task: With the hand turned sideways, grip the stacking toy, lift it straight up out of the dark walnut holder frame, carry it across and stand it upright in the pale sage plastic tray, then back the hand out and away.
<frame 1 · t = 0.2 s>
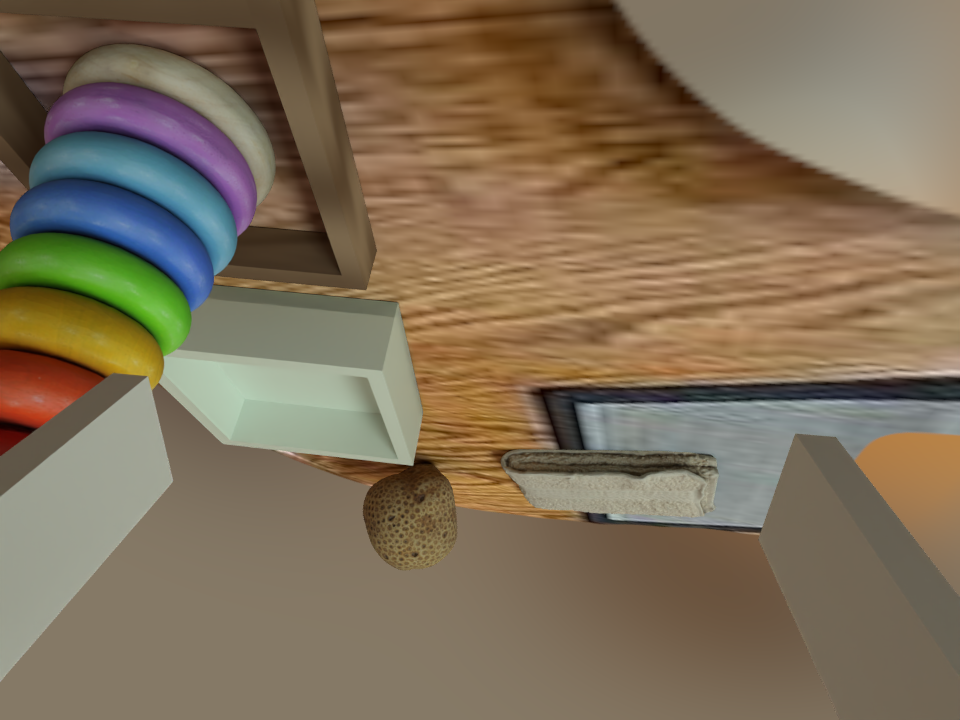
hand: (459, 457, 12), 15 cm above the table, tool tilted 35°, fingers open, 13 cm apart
sage tray: (306, 355, 41), on the table
washcloth: (611, 467, 55), on the table
stacking toy: (186, 122, 25), resting in walnut holder
walnut holder: (184, 125, 25), on the table
natural sponge: (420, 461, 58), on the table
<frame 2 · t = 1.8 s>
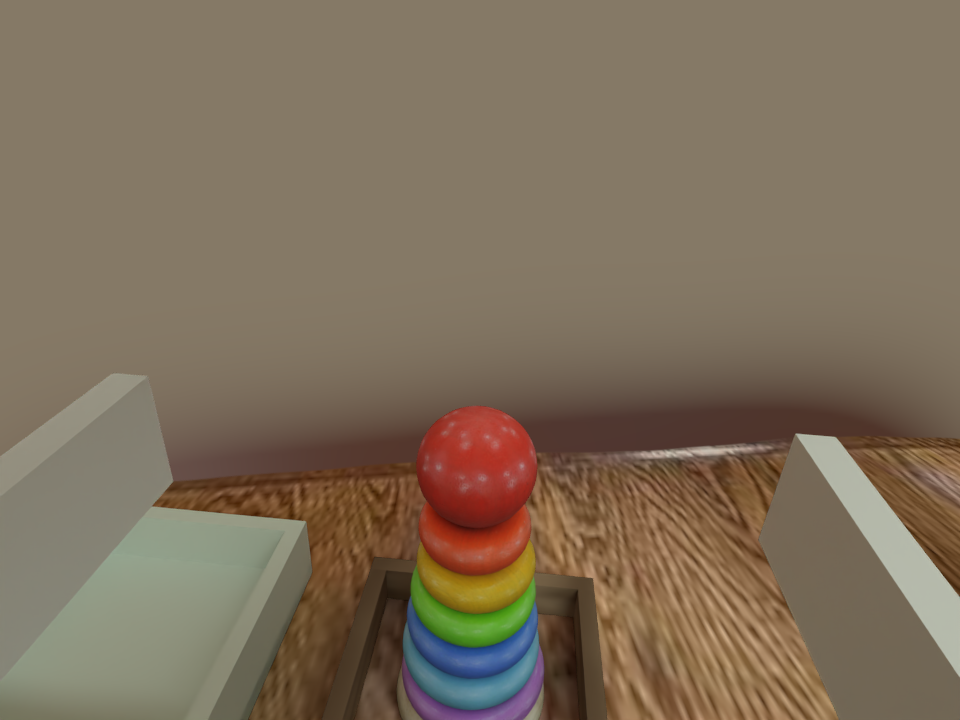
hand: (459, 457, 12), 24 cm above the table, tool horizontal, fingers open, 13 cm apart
sage tray: (139, 660, 34), on the table
stacking toy: (469, 699, 33), resting in walnut holder
walnut holder: (469, 697, 33), on the table
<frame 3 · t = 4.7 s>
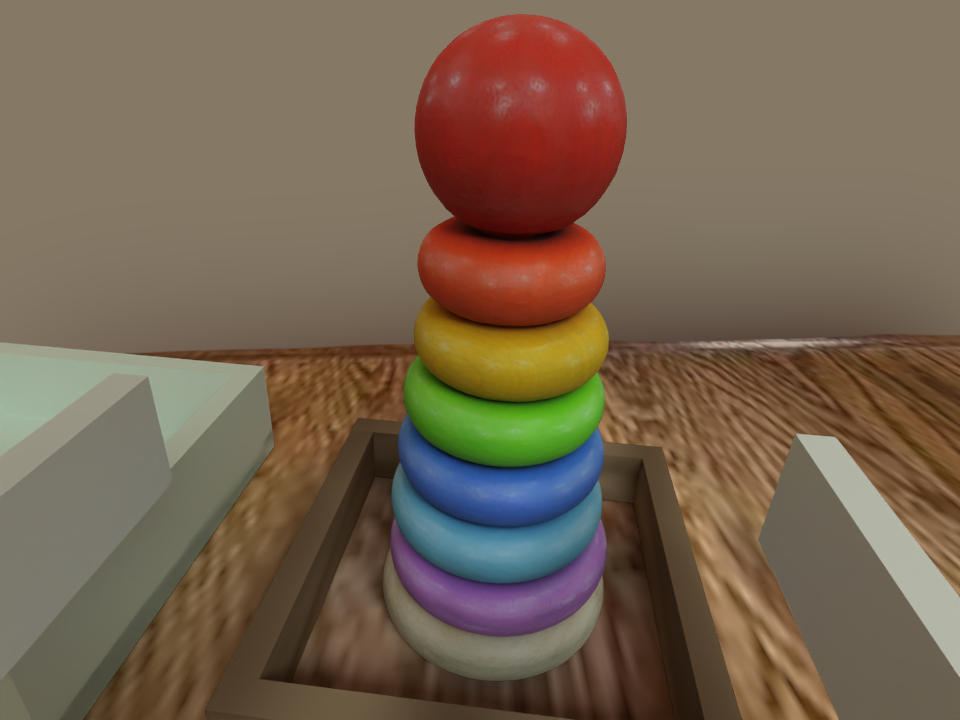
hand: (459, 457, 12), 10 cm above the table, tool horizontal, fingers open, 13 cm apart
sage tray: (13, 537, 23), on the table
stacking toy: (491, 597, 22), resting in walnut holder
walnut holder: (491, 592, 22), on the table
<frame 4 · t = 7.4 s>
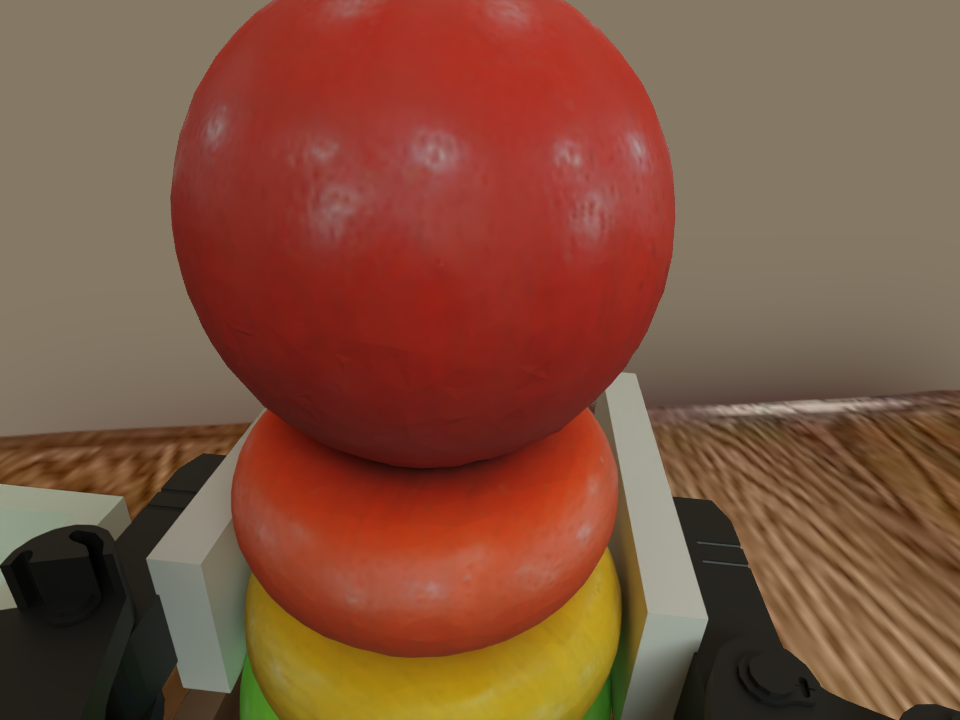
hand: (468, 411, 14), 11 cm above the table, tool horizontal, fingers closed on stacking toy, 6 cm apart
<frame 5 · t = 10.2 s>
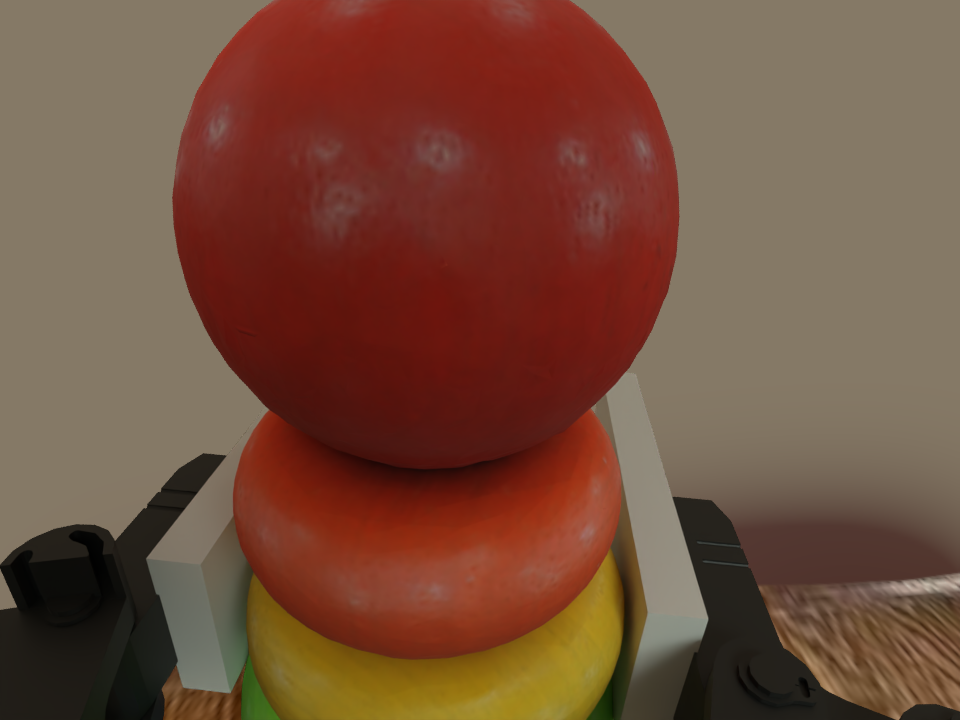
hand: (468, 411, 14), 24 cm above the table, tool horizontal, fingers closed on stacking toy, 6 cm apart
when the fingers open (13 cm above the table, at t = 13.2 s): stacking toy drops 1 cm, resting on sage tray.
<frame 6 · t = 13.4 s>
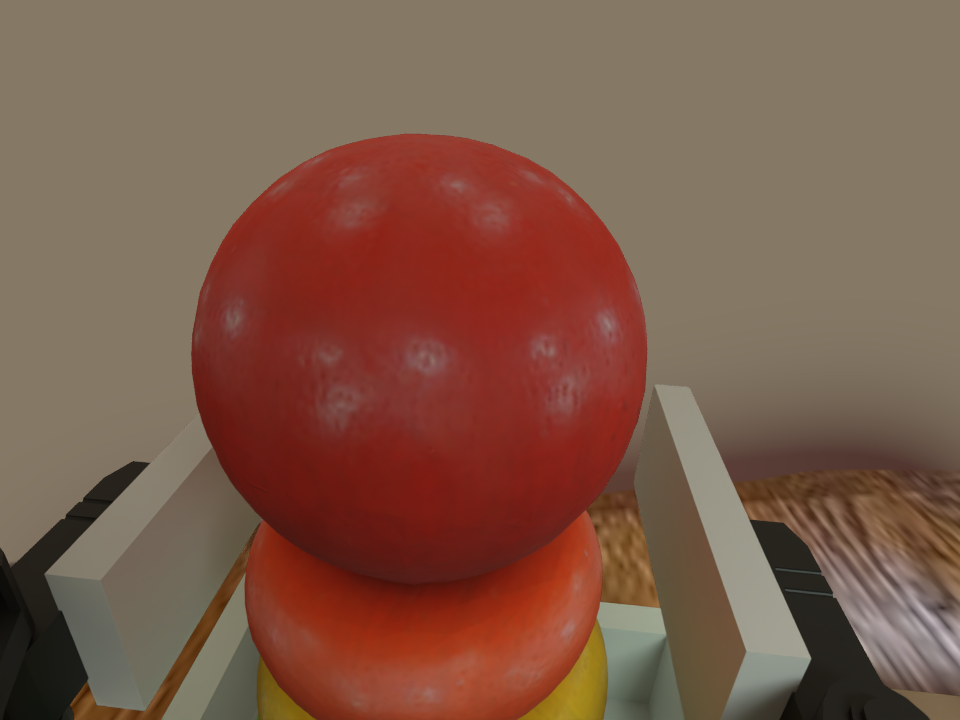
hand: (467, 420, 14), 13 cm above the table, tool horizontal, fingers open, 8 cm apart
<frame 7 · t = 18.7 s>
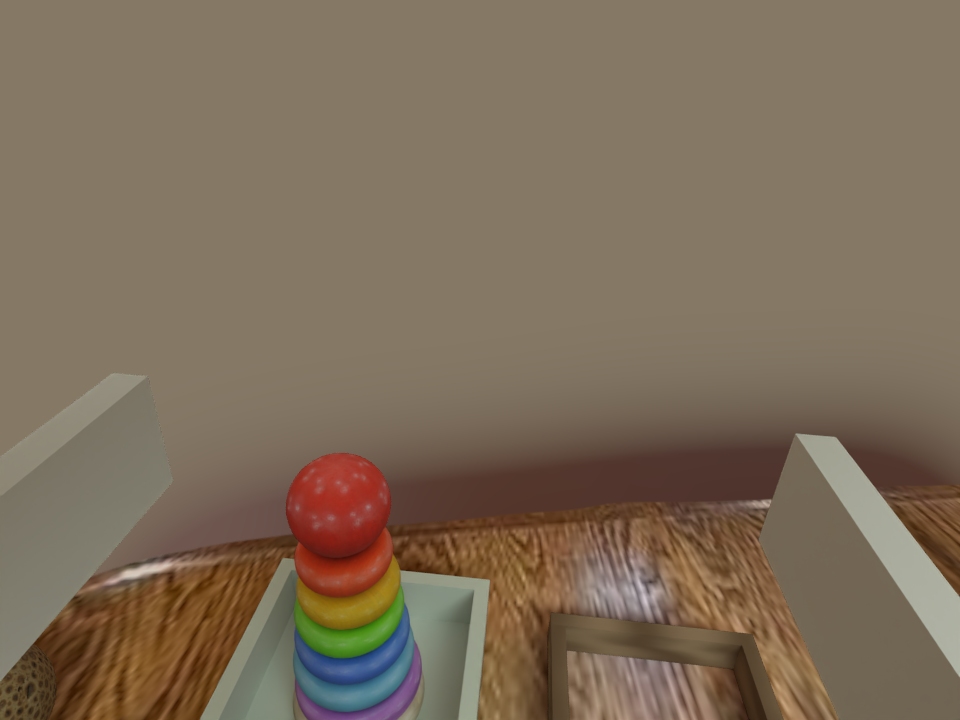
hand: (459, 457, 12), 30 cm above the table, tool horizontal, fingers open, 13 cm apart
sage tray: (359, 710, 38), on the table
stacking toy: (360, 702, 37), point 1 cm above the table, touching sage tray
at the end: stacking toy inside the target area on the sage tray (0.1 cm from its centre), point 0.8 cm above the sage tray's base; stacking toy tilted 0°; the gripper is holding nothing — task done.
